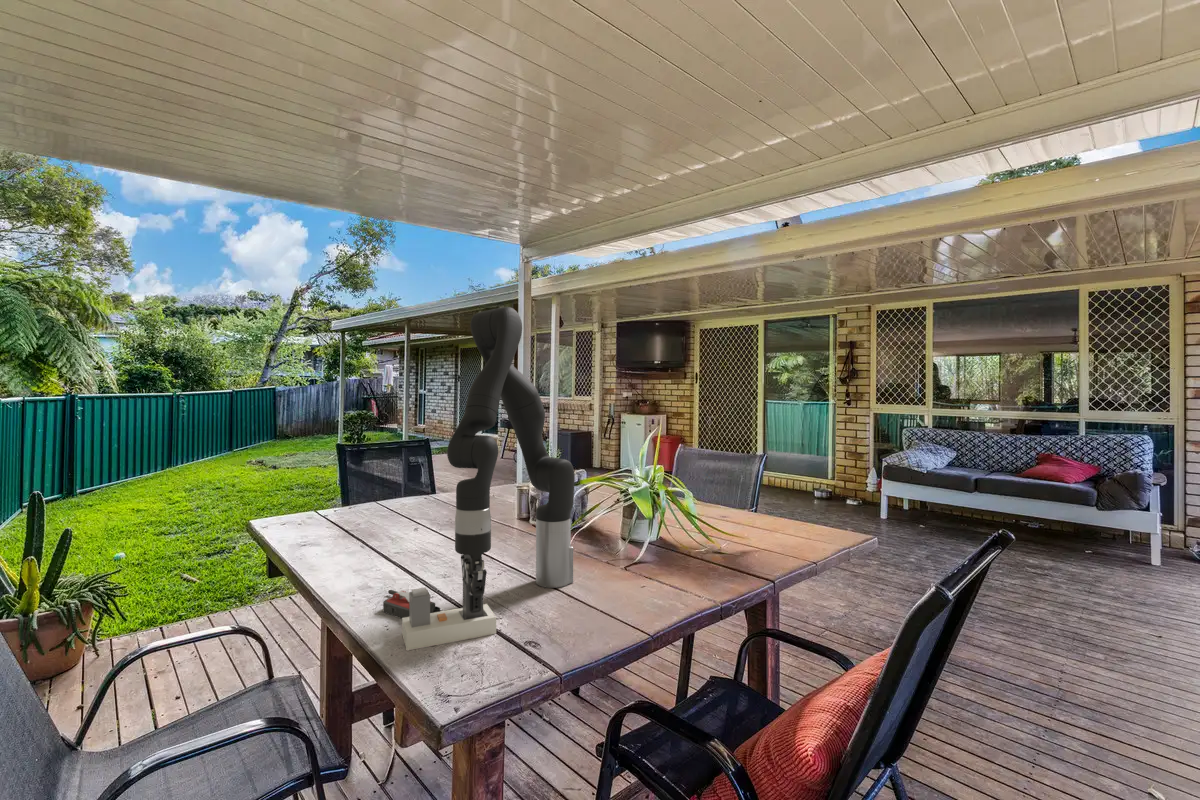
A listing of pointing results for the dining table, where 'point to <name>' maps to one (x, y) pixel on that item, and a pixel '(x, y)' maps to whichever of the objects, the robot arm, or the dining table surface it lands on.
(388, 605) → the walkie-talkie
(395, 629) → the dining table surface
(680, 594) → the dining table surface
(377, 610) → the dining table surface
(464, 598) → the plug
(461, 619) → the power strip
